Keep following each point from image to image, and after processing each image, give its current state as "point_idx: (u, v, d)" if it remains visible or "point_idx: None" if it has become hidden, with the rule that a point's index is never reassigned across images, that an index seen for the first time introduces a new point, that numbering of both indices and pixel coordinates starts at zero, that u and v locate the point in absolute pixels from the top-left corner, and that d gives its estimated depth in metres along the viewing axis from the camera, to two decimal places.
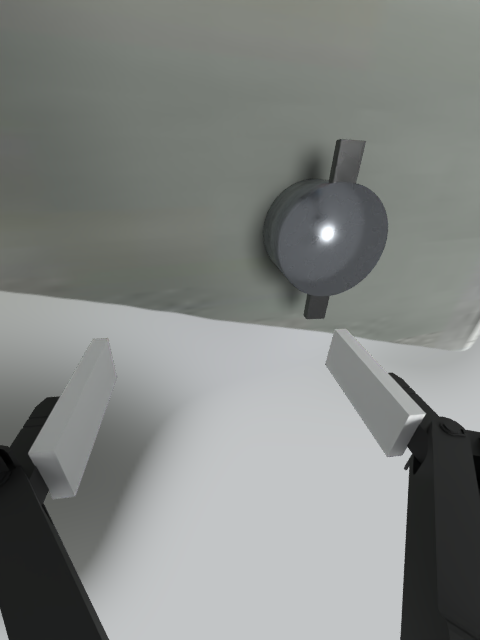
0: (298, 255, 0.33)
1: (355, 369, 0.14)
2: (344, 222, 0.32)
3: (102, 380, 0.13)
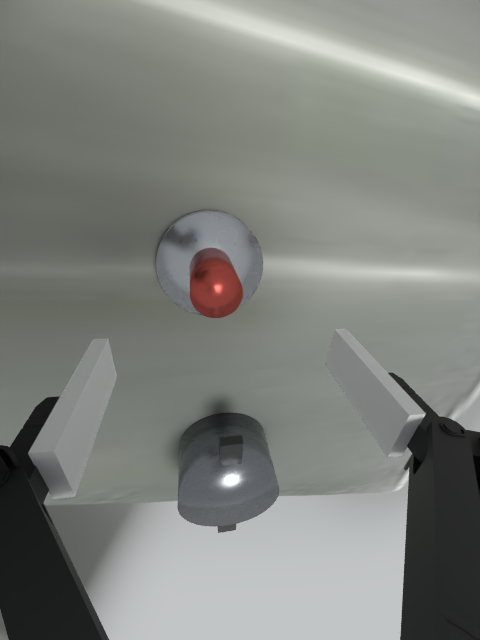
0: (197, 510, 0.37)
1: (355, 369, 0.14)
2: (235, 489, 0.36)
3: (102, 380, 0.13)
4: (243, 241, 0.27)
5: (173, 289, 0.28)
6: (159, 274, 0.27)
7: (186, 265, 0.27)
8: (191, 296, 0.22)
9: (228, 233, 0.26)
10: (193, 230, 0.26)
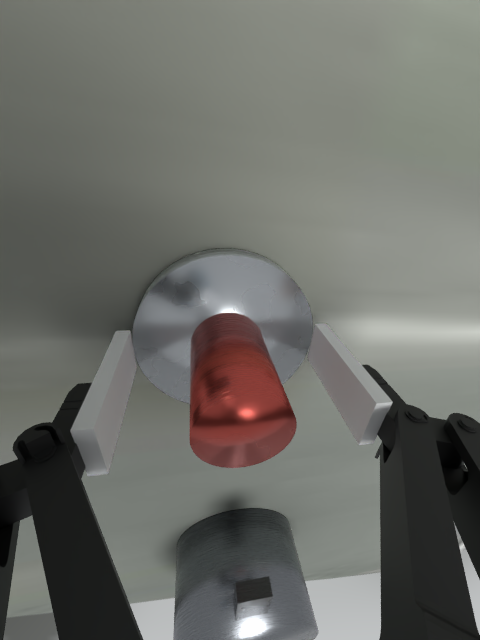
0: None
1: (332, 362, 0.15)
2: None
3: (126, 369, 0.14)
4: (284, 302, 0.16)
5: (162, 373, 0.17)
6: (138, 353, 0.16)
7: (185, 339, 0.16)
8: (192, 440, 0.11)
9: (260, 290, 0.15)
10: (200, 285, 0.14)
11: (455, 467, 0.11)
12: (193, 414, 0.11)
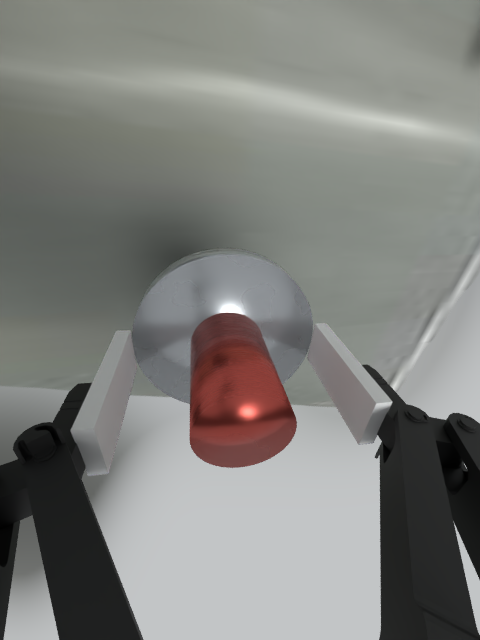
0: None
1: (331, 362, 0.15)
2: None
3: (126, 369, 0.14)
4: (284, 302, 0.16)
5: (162, 373, 0.17)
6: (138, 353, 0.16)
7: (185, 339, 0.16)
8: (192, 440, 0.11)
9: (261, 290, 0.15)
10: (200, 285, 0.14)
11: (455, 467, 0.11)
12: (193, 414, 0.11)
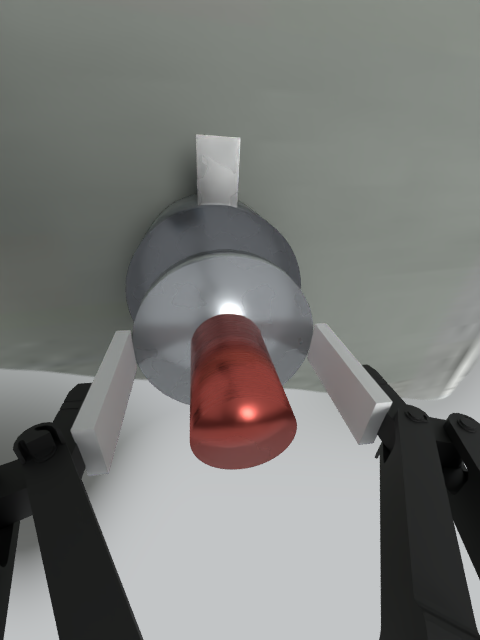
0: None
1: (332, 362, 0.15)
2: None
3: (126, 369, 0.14)
4: (284, 303, 0.16)
5: (162, 374, 0.17)
6: (138, 354, 0.16)
7: (185, 340, 0.16)
8: (192, 442, 0.11)
9: (261, 291, 0.15)
10: (200, 286, 0.14)
11: (454, 467, 0.11)
12: (193, 416, 0.11)
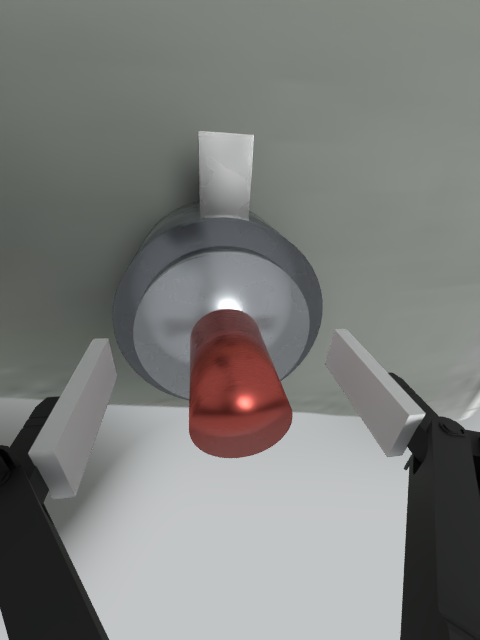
0: None
1: (355, 369, 0.14)
2: None
3: (102, 380, 0.13)
4: (282, 299, 0.16)
5: (162, 368, 0.17)
6: (139, 349, 0.16)
7: (185, 335, 0.16)
8: (192, 430, 0.11)
9: (258, 287, 0.15)
10: (199, 282, 0.15)
11: None
12: (192, 405, 0.11)
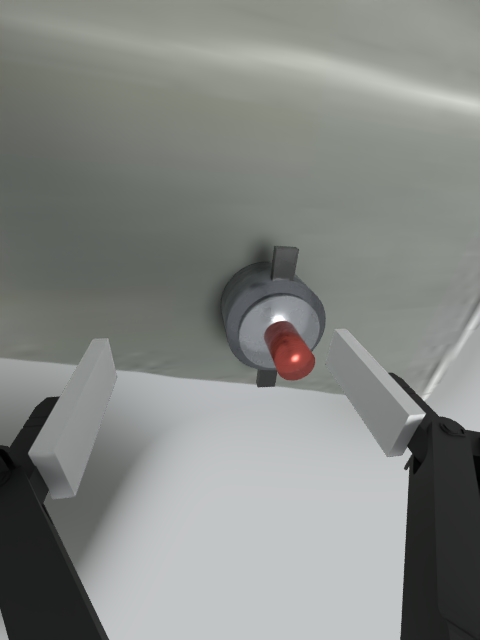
0: None
1: (355, 369, 0.14)
2: None
3: (102, 380, 0.13)
4: (307, 316, 0.35)
5: (249, 348, 0.36)
6: (241, 338, 0.35)
7: (262, 332, 0.35)
8: (278, 365, 0.30)
9: (297, 311, 0.34)
10: (272, 308, 0.34)
11: None
12: (278, 356, 0.30)
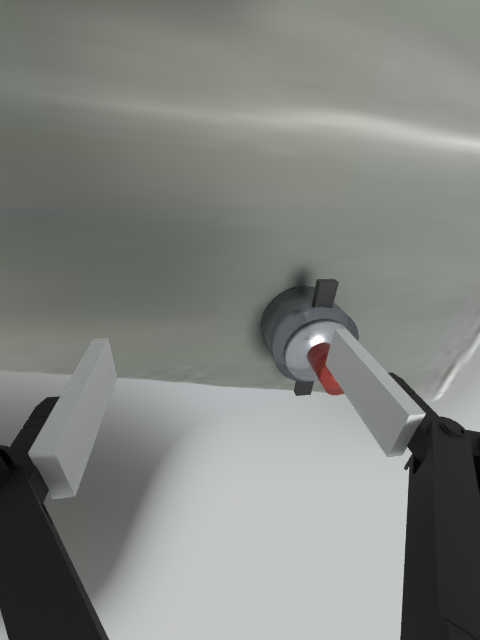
0: None
1: (355, 369, 0.14)
2: None
3: (102, 380, 0.13)
4: None
5: (293, 365, 0.42)
6: (287, 358, 0.41)
7: (305, 352, 0.41)
8: (325, 384, 0.36)
9: None
10: (315, 333, 0.39)
11: None
12: (325, 376, 0.36)
